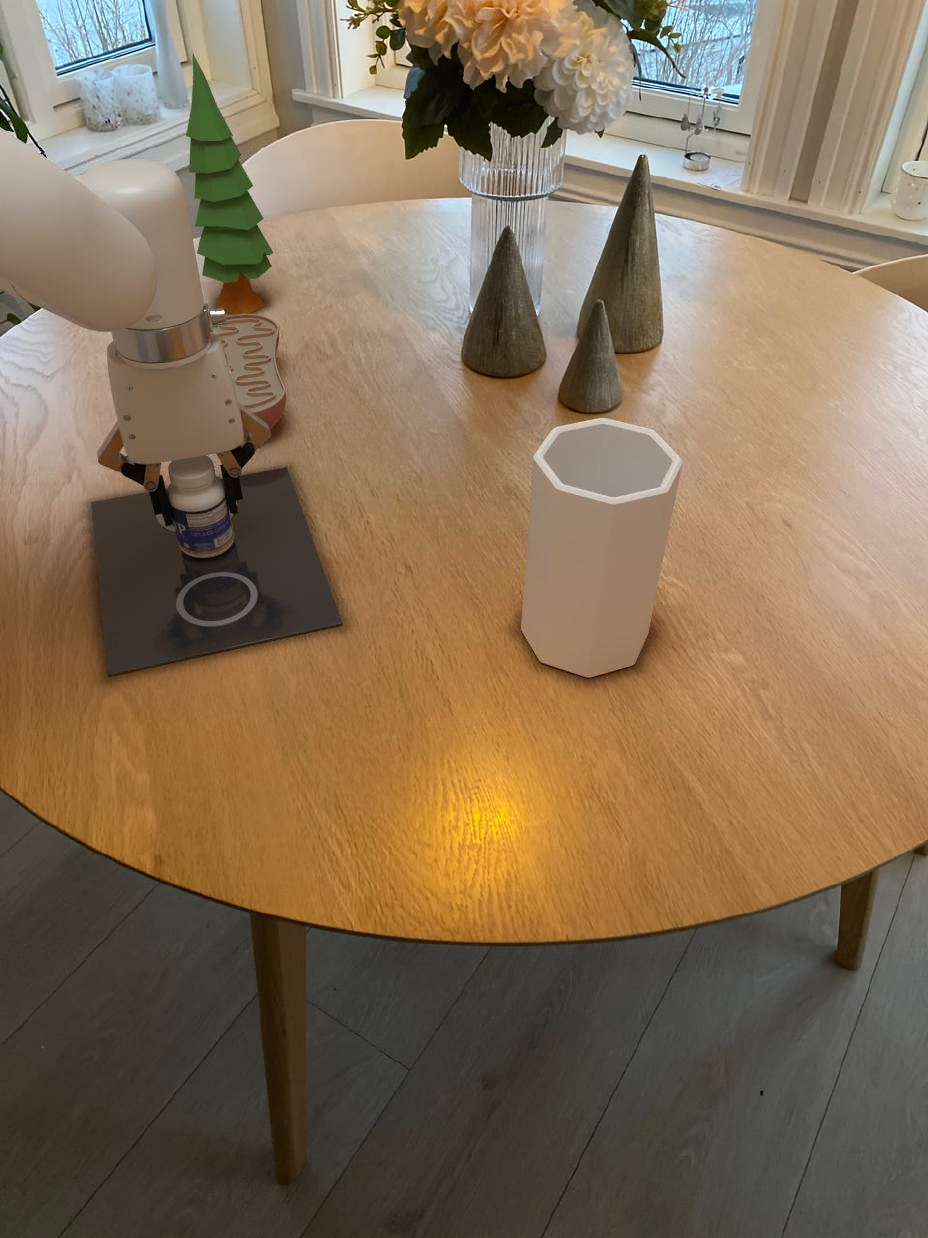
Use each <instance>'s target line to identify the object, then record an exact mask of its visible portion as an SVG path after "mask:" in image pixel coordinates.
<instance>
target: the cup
mask: <svg viewBox="0 0 928 1238" xmlns="http://www.w3.org/2000/svg"><path fill="white" fill-rule="evenodd" d="M683 461H684V460H683V459H682V458H681V457H680V456H679V455H678V453H676V452H675V450H674V449H673V448H672V447H671V446H670V445H669V443H667V442H666V441H665V440H664V439H663V438H662V436H661V435H660V434H659V433H658V432H657V431H655V430H654V429H652V428H649V427H644V426H640V425H637V424H631V423H628V422H623V421H619V420H615V419H611V418H607V417H599V418H593V419H589V420H584V421H579V422H574V423H569V424H564V425H560V426H556V427H554V428H552V429H551V430H550V431H549V433H548V434H547V436H546V437H545V439H544V440H543V441H542V442H541V444H540V446H539V447H538V449H537V450H536V451H535V453H534V454H533V456H532V469H531V484H530V498H529V509H528V510H529V512H528V513H529V514H528V525H527V539H526V550H525V551H526V552H525V554H526V555H525V564H524V565H525V567H524V578H523V579H524V580H523V594H522V606H521V607H522V608H521V622H520V631H521V633H522V634H523V636H524V637H525V640H526V641H527V643H528V644H529V646H530V648H531V650H532V651H533V653H534V654H535V656H536V657H537V659H538V661H539V662H540V663H542V664H545V665H548V666H551V667H554V668H556V669H559V670H563V671H565V672H569V673H571V674H572V673H573V674H575V675H579V676H582V677H584V678H593V677H596V676H600V675H604V674H608V673H611V672H614V671H617V670H618V671H619V670H622V669H626V668H628V667H632V666H634V665H635V664H636V662H637V661H638V658H639V655H640V653H641V651H642V649H643V647H644V644H645V642H646V640H647V637H648V635H649V632H650V628H651V622H652V616H653V612H654V607H655V602H656V598H657V593H658V587H659V582H660V578H661V574H662V569H663V568H662V567H663V563H664V558H665V552H666V548H667V543H668V538H669V534H670V533H669V532H670V529H671V523H672V519H673V513H674V508H675V503H676V499H677V494H678V489H679V483H680V478H681V473H682V468H683Z"/></svg>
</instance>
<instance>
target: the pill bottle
mask: <svg viewBox="0 0 928 1238" xmlns="http://www.w3.org/2000/svg"><path fill="white" fill-rule="evenodd" d="M167 472H168V476H169V481H170V484H169V485H168V487H167V488H168V490H167V498H168V502H169V506H170V510H171V514H172V519H173V523H174V527H175V531H176V535H177V539H178V543H179V546H180V548H181V550H182V551H183V552H184V553H186V554H187V555H189V556H192V557H197V558H209V557H214V556H217V555H220V554H222V553H223V552H225V551H226V550H228V549H229V548H230V547H231V545H232V544H233V541H234V531H233V526H232V522H231V517H230V512H229V506H228V501H227V495H226V490H225V486H224V483H223V481H222V480H221V479H222V478H220V476H218V475H216V469H215V465H214V460H212V458H211V457H209V455H204V456H198V457H192V458H186V459H180V460H174V461H170V462H169V464H168V467H167Z"/></svg>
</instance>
